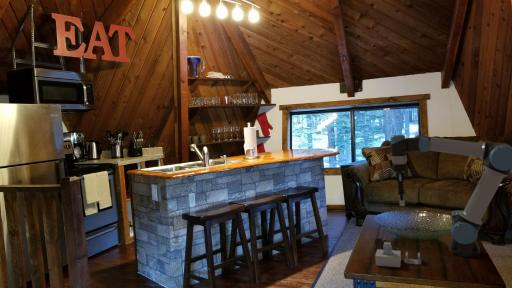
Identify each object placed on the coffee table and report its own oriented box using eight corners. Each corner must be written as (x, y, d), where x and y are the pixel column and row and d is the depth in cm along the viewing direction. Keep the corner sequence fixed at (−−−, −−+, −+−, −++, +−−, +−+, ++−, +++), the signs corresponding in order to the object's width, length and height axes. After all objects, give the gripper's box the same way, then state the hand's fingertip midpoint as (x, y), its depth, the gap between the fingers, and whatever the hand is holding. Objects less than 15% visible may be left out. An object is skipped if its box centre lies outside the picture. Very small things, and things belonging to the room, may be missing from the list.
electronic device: (389, 254, 224) (389, 241, 223) (374, 251, 231) (373, 238, 230) (393, 252, 227) (392, 239, 226) (378, 249, 234) (377, 236, 233)
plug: (392, 259, 211) (391, 242, 210) (391, 261, 208) (391, 244, 207) (384, 258, 212) (383, 242, 212) (383, 260, 209) (383, 243, 209)
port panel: (401, 261, 212) (400, 250, 212) (400, 269, 203) (399, 256, 203) (377, 260, 217) (377, 248, 217) (375, 267, 208) (375, 255, 207)
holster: (421, 261, 210) (420, 252, 210) (421, 266, 205) (420, 256, 205) (405, 260, 214) (404, 251, 213) (404, 264, 208) (404, 255, 208)
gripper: (392, 161, 224) (395, 202, 226) (391, 165, 212) (394, 208, 214) (406, 161, 222) (409, 202, 223) (406, 164, 210) (409, 208, 211)
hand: (402, 205), depth 219 cm, fingers closed
